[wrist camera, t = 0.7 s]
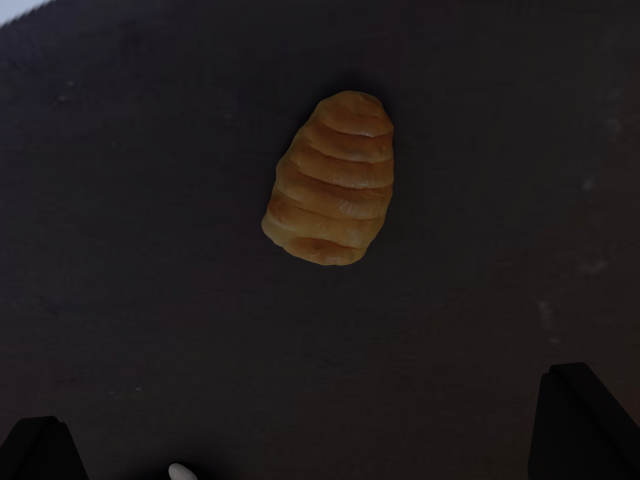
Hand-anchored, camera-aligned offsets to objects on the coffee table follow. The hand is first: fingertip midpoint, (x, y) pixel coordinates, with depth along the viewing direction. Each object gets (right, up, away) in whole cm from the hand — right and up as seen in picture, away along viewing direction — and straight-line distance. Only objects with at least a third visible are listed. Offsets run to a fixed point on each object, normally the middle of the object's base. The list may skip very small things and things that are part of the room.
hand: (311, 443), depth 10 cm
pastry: (+1, +8, +19) cm, 20 cm away
